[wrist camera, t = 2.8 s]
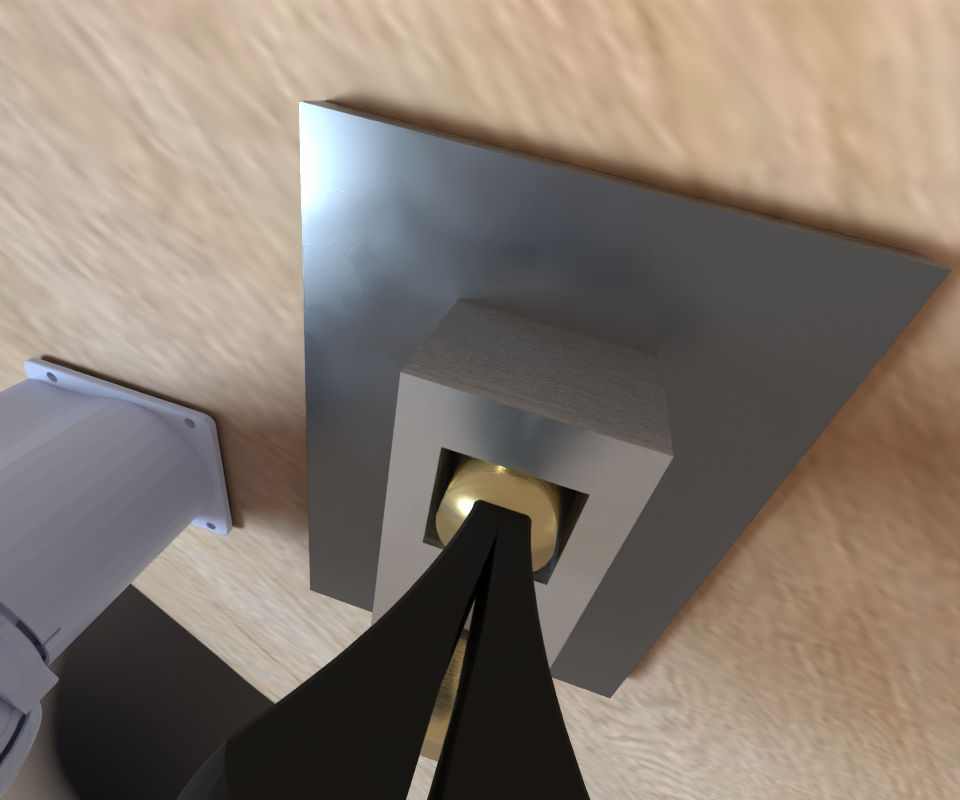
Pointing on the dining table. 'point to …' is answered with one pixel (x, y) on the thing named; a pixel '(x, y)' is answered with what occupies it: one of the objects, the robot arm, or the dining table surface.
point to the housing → (524, 447)
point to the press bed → (584, 310)
